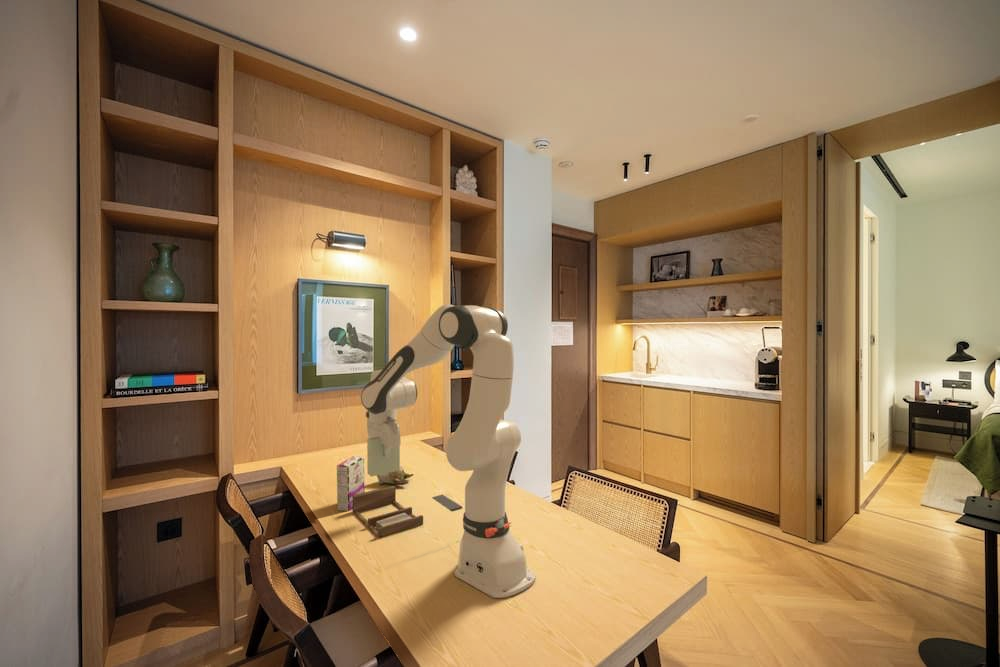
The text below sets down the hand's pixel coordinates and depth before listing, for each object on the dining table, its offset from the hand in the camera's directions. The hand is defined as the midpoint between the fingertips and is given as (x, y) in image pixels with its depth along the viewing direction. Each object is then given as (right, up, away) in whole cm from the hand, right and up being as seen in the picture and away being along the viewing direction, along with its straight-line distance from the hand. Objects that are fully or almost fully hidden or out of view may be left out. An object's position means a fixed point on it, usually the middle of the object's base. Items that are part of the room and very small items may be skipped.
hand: (383, 455), depth 146 cm
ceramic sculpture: (-5, -22, +34) cm, 40 cm away
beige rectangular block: (0, -6, 0) cm, 6 cm away
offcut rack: (+2, -22, -2) cm, 22 cm away
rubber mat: (+15, -22, +10) cm, 28 cm away
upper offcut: (+6, -20, -8) cm, 23 cm away
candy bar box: (-15, -22, +12) cm, 29 cm away
